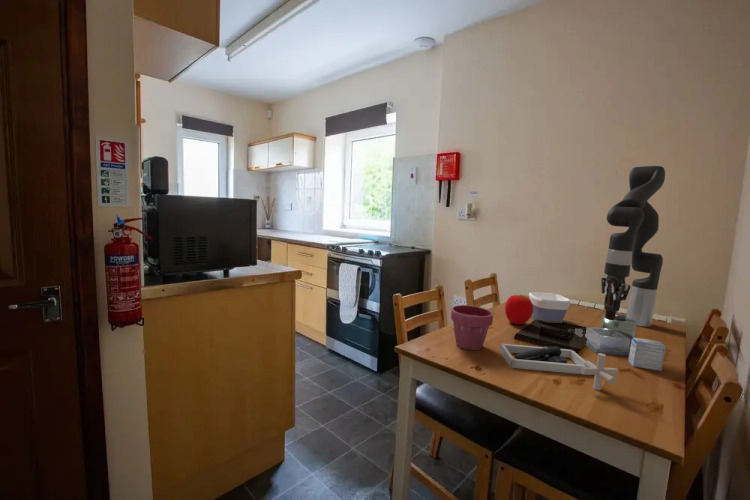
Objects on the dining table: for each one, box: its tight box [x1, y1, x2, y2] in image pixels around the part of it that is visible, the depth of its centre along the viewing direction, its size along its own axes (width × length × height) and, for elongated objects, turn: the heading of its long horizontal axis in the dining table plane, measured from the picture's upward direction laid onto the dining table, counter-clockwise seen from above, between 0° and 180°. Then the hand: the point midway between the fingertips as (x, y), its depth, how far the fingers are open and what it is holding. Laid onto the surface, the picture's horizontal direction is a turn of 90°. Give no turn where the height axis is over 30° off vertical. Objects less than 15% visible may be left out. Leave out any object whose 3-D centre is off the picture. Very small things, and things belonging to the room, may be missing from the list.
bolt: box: [603, 278, 619, 321], centre depth 127 cm, size 6×5×15 cm
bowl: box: [528, 291, 571, 324], centre depth 158 cm, size 15×15×11 cm
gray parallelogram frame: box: [499, 343, 590, 376], centre depth 113 cm, size 13×24×2 cm, turn 85°
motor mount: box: [574, 313, 637, 357], centre depth 133 cm, size 22×22×10 cm
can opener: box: [513, 345, 568, 364], centre depth 111 cm, size 18×7×6 cm, turn 103°
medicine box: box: [628, 337, 666, 372], centre depth 114 cm, size 8×4×9 cm, turn 71°
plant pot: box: [450, 304, 494, 351], centre depth 123 cm, size 14×14×13 cm
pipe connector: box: [580, 353, 619, 391], centre depth 97 cm, size 10×10×10 cm
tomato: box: [504, 294, 533, 326], centre depth 150 cm, size 11×11×13 cm
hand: (611, 308), depth 128 cm, fingers closed on bolt, 4 cm apart
